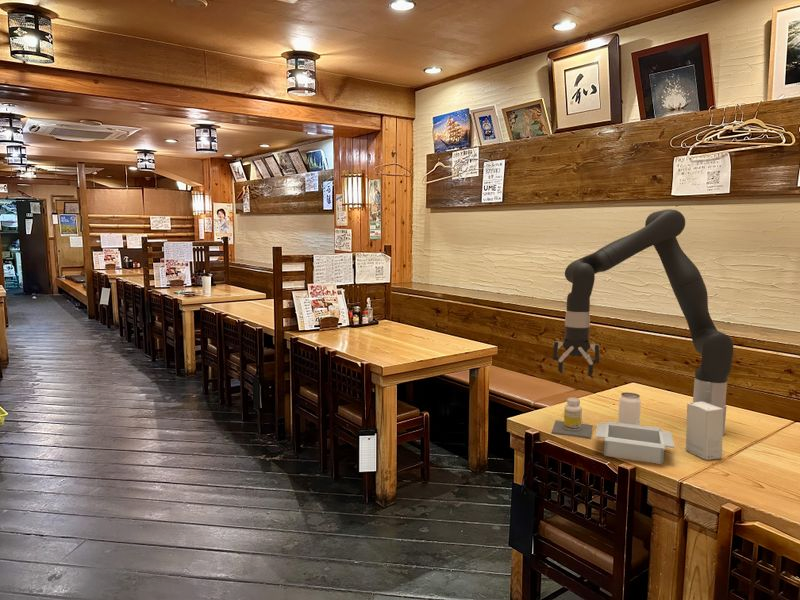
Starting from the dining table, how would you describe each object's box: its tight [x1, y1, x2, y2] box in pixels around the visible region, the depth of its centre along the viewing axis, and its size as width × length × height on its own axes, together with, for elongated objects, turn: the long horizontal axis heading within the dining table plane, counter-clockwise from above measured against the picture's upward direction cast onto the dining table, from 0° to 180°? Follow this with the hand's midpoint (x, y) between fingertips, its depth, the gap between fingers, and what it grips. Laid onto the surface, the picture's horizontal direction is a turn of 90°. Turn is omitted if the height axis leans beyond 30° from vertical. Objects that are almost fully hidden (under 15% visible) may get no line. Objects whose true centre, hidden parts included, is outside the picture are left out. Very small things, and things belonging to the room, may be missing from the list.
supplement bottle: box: [563, 397, 583, 431], centre depth 181 cm, size 5×5×10 cm
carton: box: [595, 420, 675, 465], centre depth 164 cm, size 21×18×6 cm
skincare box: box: [685, 402, 724, 461], centre depth 162 cm, size 8×6×15 cm
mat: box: [550, 420, 594, 440], centre depth 182 cm, size 12×12×1 cm
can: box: [617, 392, 642, 425], centre depth 181 cm, size 6×6×12 cm
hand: (575, 374), depth 180 cm, fingers open, 8 cm apart
